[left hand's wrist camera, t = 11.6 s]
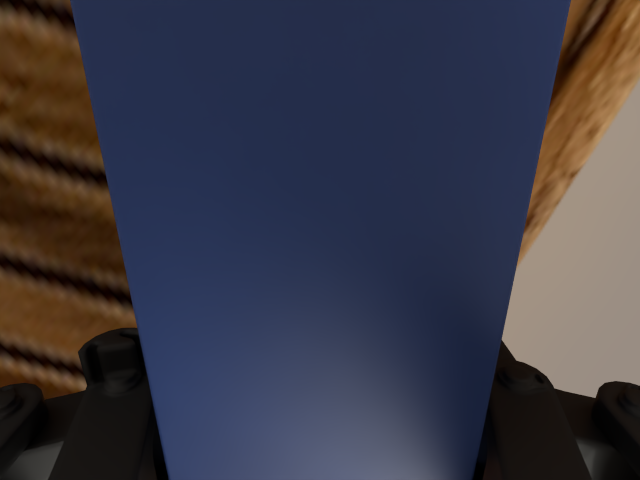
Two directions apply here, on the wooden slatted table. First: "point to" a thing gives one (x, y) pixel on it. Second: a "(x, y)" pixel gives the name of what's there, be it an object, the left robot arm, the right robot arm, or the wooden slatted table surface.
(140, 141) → the bar
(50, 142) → the wooden slatted table surface
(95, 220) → the wooden slatted table surface
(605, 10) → the wooden slatted table surface
